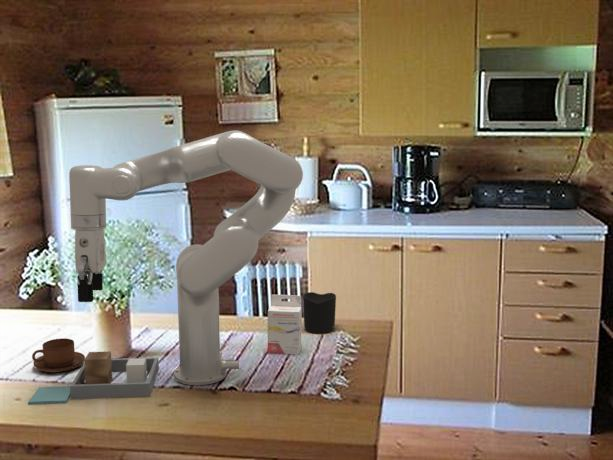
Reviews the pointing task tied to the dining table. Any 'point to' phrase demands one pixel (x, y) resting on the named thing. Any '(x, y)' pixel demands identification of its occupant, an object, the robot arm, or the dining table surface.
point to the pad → (51, 395)
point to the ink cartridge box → (284, 325)
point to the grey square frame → (115, 389)
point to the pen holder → (319, 312)
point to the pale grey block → (136, 370)
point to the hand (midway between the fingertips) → (90, 295)
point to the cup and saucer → (58, 356)
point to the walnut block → (98, 368)
